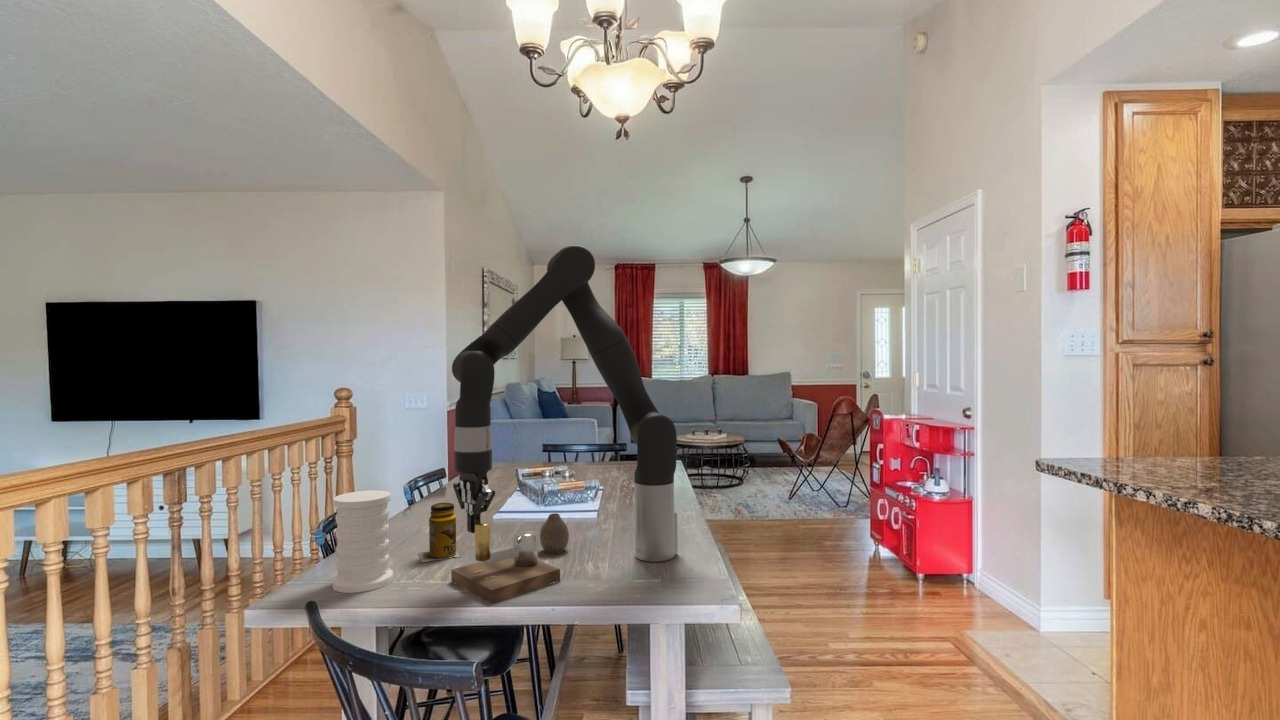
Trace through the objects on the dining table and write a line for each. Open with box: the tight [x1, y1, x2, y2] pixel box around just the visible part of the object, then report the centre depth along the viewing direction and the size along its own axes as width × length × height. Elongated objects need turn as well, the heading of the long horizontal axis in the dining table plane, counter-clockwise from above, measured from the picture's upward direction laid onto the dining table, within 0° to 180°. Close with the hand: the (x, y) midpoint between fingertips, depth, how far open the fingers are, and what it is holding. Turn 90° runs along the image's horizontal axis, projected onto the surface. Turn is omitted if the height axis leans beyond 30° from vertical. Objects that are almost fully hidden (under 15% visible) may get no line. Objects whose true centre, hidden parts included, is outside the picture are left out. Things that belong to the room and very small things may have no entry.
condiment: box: [418, 502, 461, 563], centre depth 143 cm, size 7×8×12 cm
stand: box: [450, 558, 561, 604], centre depth 126 cm, size 16×16×3 cm
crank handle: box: [474, 521, 539, 566], centre depth 126 cm, size 14×5×10 cm, turn 132°
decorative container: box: [332, 489, 395, 594], centre depth 126 cm, size 12×12×18 cm
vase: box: [539, 512, 570, 554], centre depth 145 cm, size 7×7×9 cm
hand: (473, 531), depth 125 cm, fingers closed
